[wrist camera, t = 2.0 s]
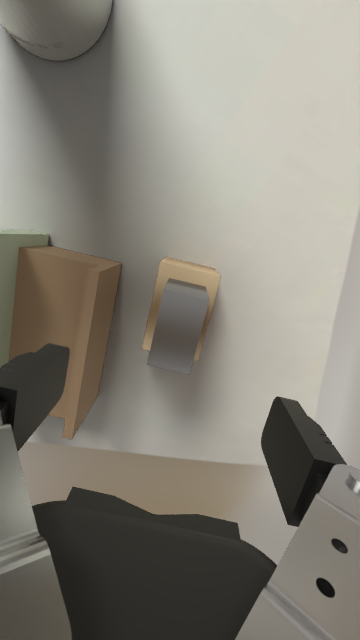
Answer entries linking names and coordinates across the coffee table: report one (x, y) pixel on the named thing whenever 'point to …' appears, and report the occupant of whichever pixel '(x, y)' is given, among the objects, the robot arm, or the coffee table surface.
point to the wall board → (57, 312)
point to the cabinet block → (179, 314)
